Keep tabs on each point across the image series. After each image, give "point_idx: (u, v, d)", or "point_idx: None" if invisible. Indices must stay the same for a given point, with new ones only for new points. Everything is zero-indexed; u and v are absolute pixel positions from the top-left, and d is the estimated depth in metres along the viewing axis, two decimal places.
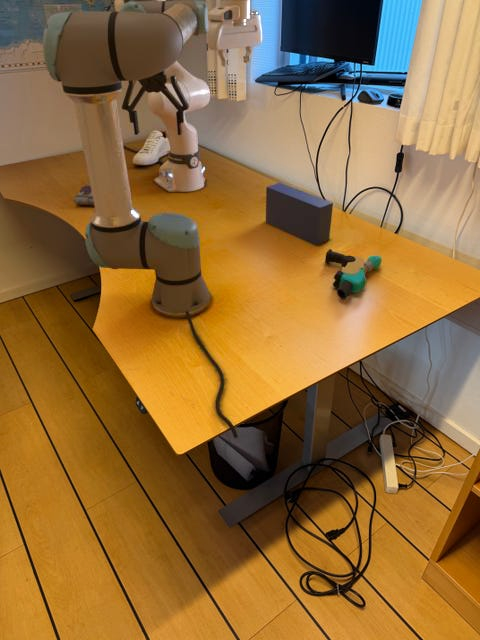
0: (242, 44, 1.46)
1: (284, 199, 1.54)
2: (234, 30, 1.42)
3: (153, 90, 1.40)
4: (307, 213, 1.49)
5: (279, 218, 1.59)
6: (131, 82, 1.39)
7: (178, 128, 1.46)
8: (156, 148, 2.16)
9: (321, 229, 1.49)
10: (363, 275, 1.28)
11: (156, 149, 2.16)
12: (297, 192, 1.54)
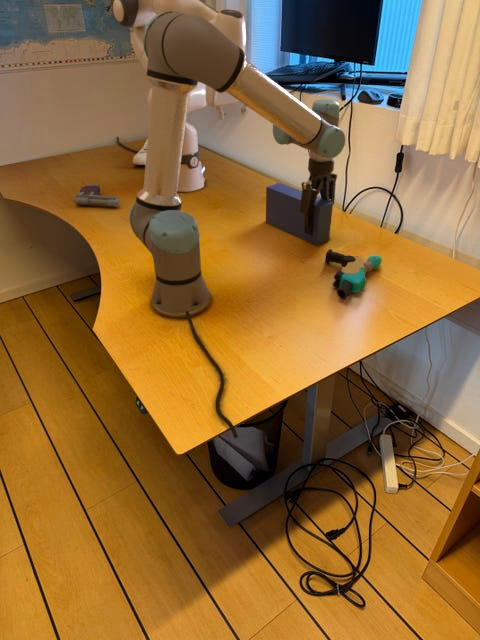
0: None
1: (284, 199, 1.54)
2: None
3: (322, 187, 1.44)
4: None
5: (279, 218, 1.59)
6: (309, 188, 1.40)
7: None
8: None
9: (321, 229, 1.49)
10: (363, 275, 1.28)
11: None
12: (297, 192, 1.54)
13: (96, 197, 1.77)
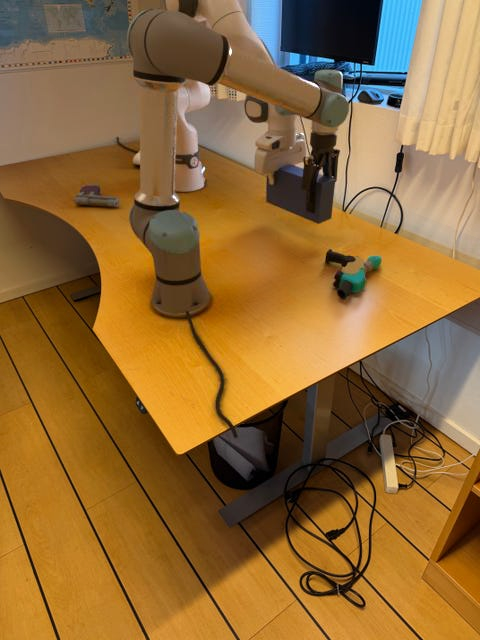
0: (287, 165, 1.52)
1: (284, 177, 1.50)
2: (280, 154, 1.49)
3: (324, 162, 1.39)
4: None
5: (279, 196, 1.55)
6: (311, 163, 1.36)
7: None
8: None
9: (323, 206, 1.44)
10: (363, 275, 1.28)
11: None
12: (298, 169, 1.49)
13: (96, 197, 1.77)
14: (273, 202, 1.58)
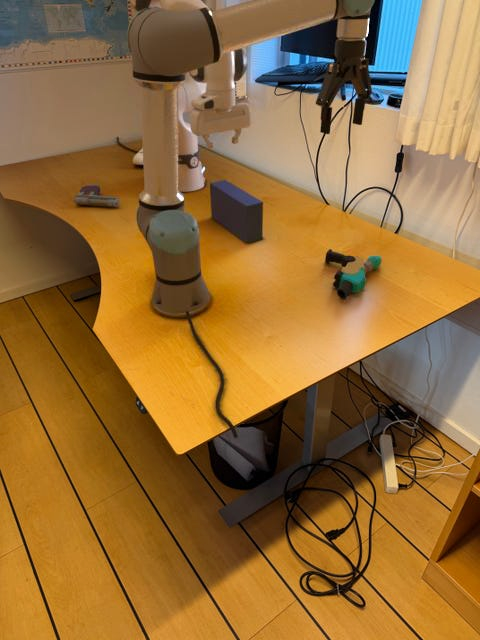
0: (227, 128, 1.48)
1: (222, 196, 1.57)
2: (218, 116, 1.45)
3: (350, 78, 1.22)
4: (238, 211, 1.51)
5: (220, 214, 1.62)
6: (336, 71, 1.17)
7: (361, 117, 1.32)
8: None
9: (251, 227, 1.50)
10: (363, 275, 1.28)
11: None
12: (235, 190, 1.56)
13: (96, 197, 1.77)
14: (216, 218, 1.66)
